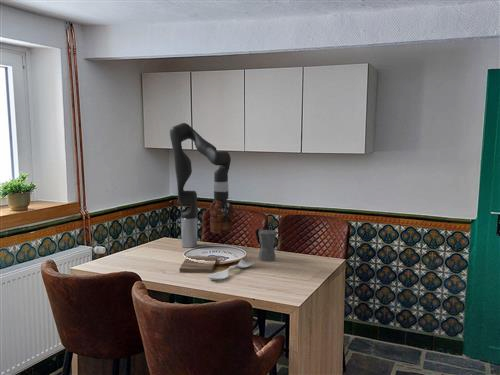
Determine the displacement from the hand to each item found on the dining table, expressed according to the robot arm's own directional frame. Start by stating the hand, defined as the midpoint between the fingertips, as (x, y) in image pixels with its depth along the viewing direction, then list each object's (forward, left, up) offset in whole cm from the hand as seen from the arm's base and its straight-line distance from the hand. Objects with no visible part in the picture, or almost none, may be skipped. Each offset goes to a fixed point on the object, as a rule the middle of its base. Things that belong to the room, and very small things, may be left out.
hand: (221, 221), depth 253 cm
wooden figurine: (0, 0, -6) cm, 6 cm away
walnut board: (+8, -11, -22) cm, 26 cm away
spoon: (+18, +7, -22) cm, 30 cm away
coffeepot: (-7, +23, -22) cm, 33 cm away
